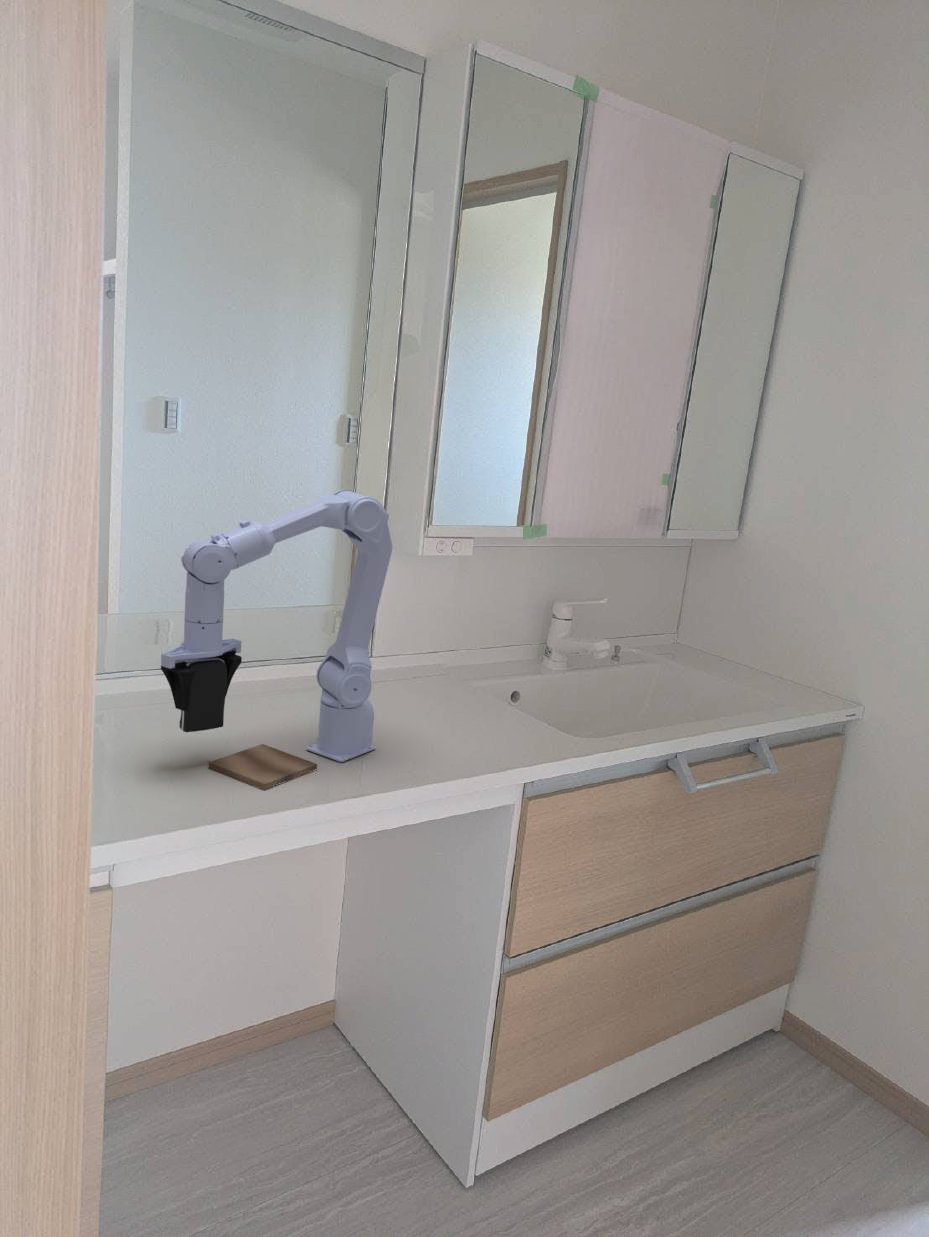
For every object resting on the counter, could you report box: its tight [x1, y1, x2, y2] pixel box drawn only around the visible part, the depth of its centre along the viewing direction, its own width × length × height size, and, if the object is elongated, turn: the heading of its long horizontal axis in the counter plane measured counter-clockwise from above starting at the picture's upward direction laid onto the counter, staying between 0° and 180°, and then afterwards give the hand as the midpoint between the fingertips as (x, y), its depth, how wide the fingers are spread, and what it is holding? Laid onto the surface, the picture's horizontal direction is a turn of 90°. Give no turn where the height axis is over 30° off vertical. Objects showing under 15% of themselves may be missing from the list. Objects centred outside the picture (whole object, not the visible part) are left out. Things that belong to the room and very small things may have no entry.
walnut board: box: [208, 744, 318, 790], centre depth 158 cm, size 12×12×1 cm
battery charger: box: [179, 657, 227, 733], centre depth 155 cm, size 7×4×11 cm, turn 130°
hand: (200, 703), depth 155 cm, fingers closed on battery charger, 7 cm apart
